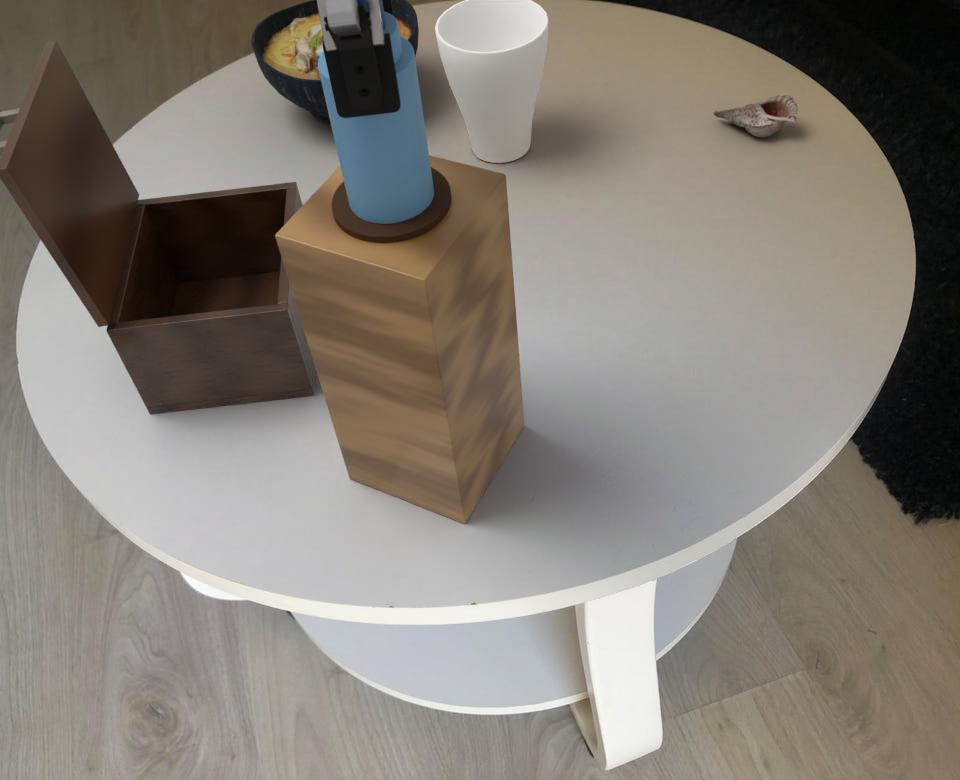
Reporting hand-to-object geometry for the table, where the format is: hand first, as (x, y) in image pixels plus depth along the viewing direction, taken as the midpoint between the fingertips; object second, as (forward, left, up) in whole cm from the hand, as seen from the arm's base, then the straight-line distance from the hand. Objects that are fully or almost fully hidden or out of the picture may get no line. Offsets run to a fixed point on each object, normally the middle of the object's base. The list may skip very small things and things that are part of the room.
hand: (369, 77), depth 52 cm
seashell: (+49, -10, -33) cm, 60 cm away
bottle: (0, 0, -8) cm, 8 cm away
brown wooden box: (+4, +22, -32) cm, 39 cm away
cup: (+37, +13, -33) cm, 51 cm away
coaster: (0, 0, -8) cm, 8 cm away
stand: (0, 0, -32) cm, 32 cm away
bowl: (+38, +32, -33) cm, 59 cm away
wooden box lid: (0, +28, -15) cm, 32 cm away
